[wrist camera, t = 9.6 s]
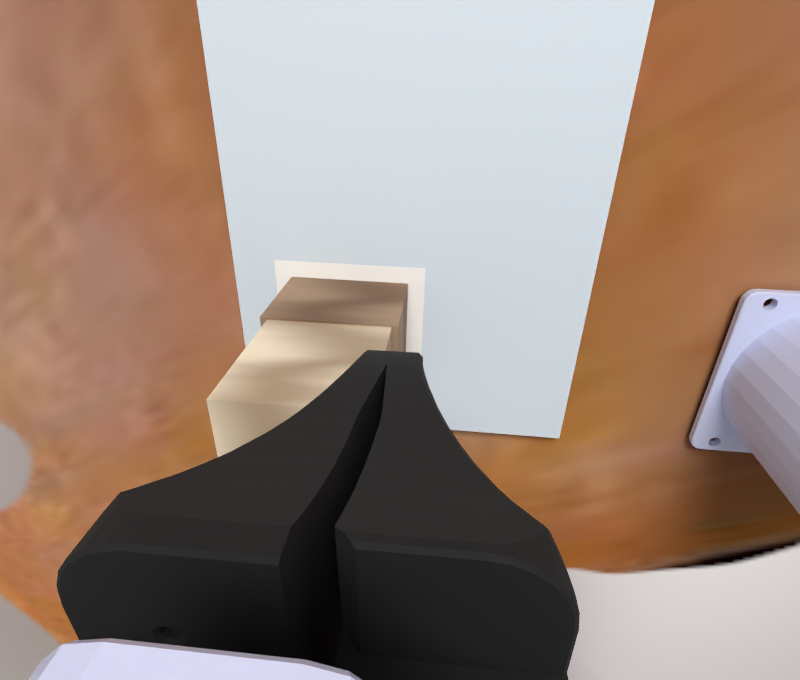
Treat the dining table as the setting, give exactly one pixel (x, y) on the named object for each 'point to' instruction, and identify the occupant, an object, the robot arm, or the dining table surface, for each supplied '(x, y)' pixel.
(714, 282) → the dining table surface
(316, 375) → the birch block
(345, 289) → the walnut base block
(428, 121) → the pale grey rectangular board
